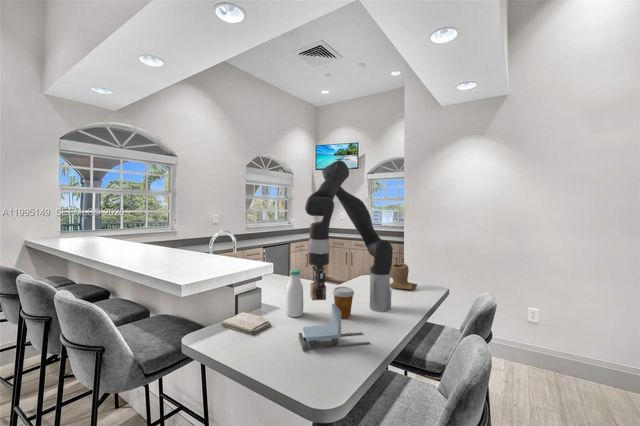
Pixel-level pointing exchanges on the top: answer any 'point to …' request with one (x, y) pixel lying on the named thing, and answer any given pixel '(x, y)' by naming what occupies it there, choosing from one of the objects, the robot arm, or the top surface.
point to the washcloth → (246, 323)
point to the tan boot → (401, 277)
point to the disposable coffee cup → (343, 300)
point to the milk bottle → (294, 295)
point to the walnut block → (313, 292)
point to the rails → (330, 345)
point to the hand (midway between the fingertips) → (318, 296)
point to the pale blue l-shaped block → (325, 329)
